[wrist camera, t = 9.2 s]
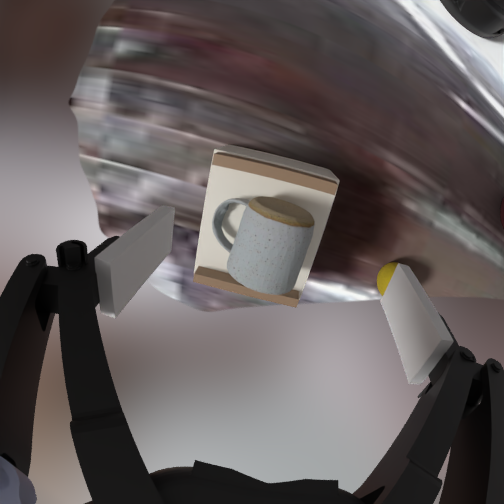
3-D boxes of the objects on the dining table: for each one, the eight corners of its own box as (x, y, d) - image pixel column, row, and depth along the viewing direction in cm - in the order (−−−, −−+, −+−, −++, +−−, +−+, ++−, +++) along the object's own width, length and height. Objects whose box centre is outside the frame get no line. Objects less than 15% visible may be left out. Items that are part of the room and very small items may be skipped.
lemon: (380, 290, 43) (393, 320, 36) (366, 265, 42) (379, 293, 35) (407, 273, 42) (425, 300, 34) (395, 247, 40) (414, 272, 33)
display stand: (329, 169, 37) (343, 184, 28) (298, 270, 44) (299, 309, 35) (228, 144, 37) (209, 150, 28) (209, 248, 44) (189, 281, 35)
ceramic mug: (316, 206, 31) (323, 230, 24) (293, 269, 35) (293, 305, 28) (224, 179, 31) (204, 195, 24) (209, 244, 35) (189, 275, 28)
